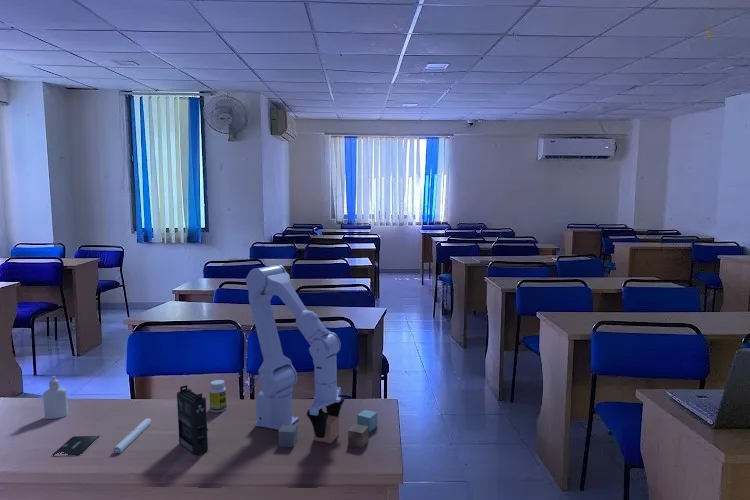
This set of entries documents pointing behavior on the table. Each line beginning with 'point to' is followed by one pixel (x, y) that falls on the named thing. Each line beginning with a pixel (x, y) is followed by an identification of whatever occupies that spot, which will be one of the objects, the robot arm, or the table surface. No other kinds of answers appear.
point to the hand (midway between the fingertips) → (326, 430)
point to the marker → (132, 436)
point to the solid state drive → (76, 445)
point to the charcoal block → (288, 435)
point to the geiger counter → (192, 421)
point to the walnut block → (358, 435)
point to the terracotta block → (330, 430)
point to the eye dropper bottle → (55, 400)
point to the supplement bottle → (218, 396)
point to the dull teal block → (367, 419)
